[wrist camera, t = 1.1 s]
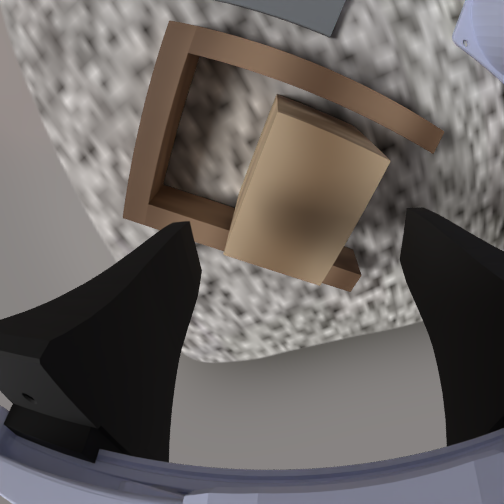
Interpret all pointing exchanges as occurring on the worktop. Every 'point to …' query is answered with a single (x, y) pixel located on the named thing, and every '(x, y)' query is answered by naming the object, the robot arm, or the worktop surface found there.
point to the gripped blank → (303, 192)
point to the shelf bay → (171, 107)
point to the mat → (298, 12)
